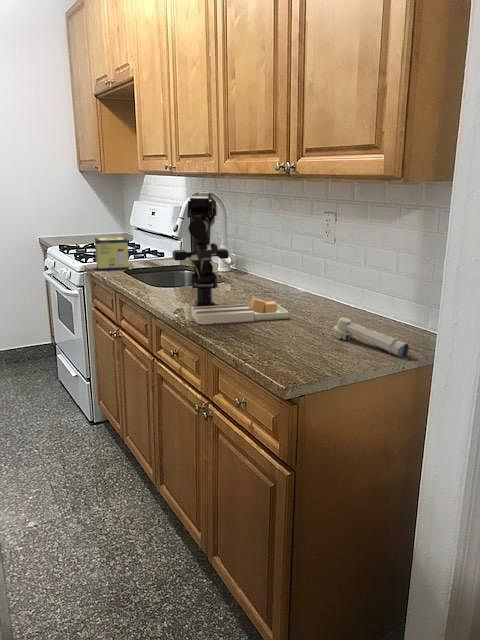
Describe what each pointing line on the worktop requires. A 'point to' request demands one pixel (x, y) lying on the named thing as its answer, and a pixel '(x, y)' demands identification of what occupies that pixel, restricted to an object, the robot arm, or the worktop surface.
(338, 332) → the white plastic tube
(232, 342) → the worktop surface
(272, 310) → the orange cube
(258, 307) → the orange-brown cube
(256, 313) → the tray
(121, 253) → the protein box
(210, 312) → the slot board
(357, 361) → the worktop surface
